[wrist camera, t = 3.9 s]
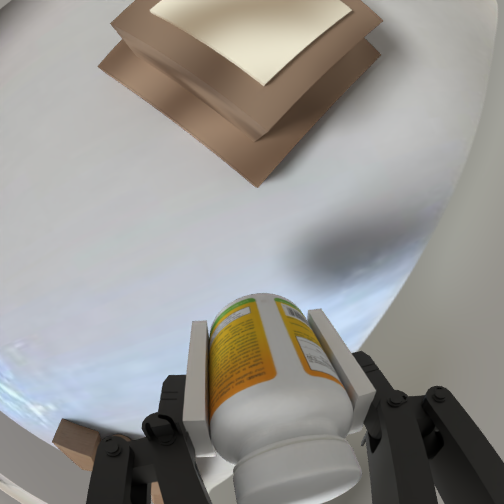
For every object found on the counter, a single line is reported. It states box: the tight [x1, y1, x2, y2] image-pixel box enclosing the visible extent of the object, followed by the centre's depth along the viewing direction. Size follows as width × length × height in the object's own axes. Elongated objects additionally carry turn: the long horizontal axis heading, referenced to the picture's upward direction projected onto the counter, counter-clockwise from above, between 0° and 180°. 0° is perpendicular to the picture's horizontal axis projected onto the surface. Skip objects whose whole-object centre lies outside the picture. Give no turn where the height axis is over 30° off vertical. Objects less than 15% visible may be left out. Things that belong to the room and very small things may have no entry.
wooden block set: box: [52, 419, 164, 504], centre depth 25 cm, size 17×6×18 cm
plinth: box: [98, 0, 383, 188], centre depth 12 cm, size 14×14×7 cm
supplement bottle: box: [209, 293, 362, 504], centre depth 10 cm, size 5×5×10 cm
